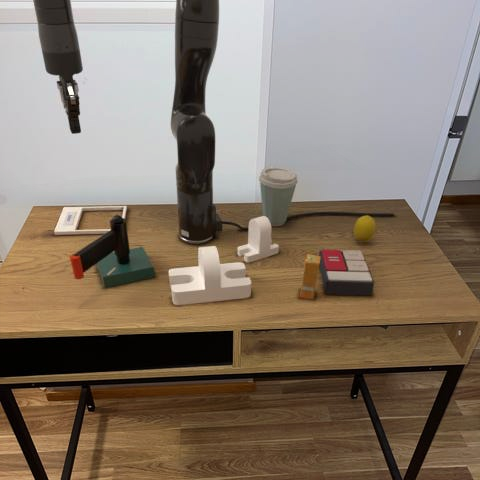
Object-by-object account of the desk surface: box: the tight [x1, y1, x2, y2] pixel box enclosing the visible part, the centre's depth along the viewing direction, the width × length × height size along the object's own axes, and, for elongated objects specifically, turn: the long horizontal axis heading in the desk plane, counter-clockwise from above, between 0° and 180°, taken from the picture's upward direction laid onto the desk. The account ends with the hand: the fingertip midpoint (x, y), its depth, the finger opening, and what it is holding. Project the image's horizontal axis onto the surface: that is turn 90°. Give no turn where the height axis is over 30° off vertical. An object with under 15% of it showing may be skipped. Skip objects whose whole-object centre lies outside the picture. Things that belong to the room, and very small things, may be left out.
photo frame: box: [53, 205, 128, 236], centre depth 140 cm, size 15×1×18 cm
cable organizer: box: [236, 215, 280, 264], centre depth 126 cm, size 5×10×10 cm, turn 122°
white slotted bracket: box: [168, 245, 252, 306], centre depth 113 cm, size 10×18×11 cm, turn 102°
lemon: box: [353, 215, 377, 243], centre depth 133 cm, size 6×6×8 cm
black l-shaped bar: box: [69, 214, 131, 280], centre depth 110 cm, size 17×4×10 cm, turn 153°
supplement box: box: [299, 253, 321, 300], centre depth 113 cm, size 3×3×10 cm
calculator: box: [318, 249, 375, 296], centre depth 120 cm, size 11×4×15 cm
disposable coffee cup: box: [258, 166, 298, 227], centre depth 139 cm, size 11×11×15 cm
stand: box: [95, 246, 155, 289], centre depth 120 cm, size 12×10×5 cm
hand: (75, 132), depth 113 cm, fingers closed
